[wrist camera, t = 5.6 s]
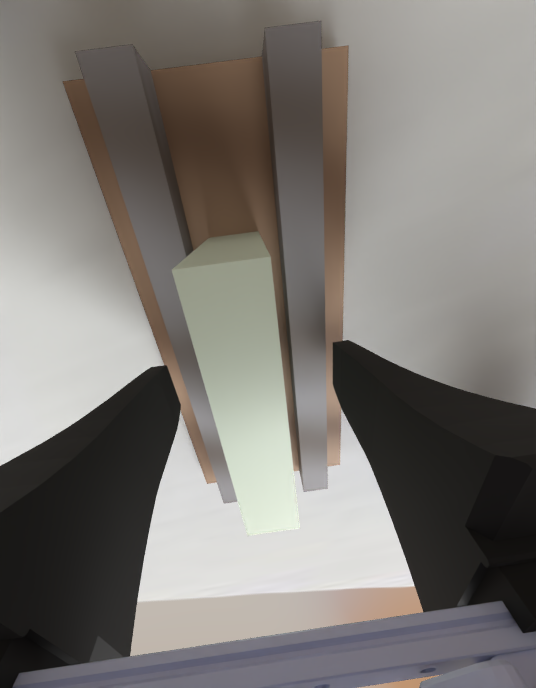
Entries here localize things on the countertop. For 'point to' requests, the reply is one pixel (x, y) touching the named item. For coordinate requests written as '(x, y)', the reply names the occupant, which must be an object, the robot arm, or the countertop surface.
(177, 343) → the track board
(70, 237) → the countertop surface
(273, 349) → the door panel
